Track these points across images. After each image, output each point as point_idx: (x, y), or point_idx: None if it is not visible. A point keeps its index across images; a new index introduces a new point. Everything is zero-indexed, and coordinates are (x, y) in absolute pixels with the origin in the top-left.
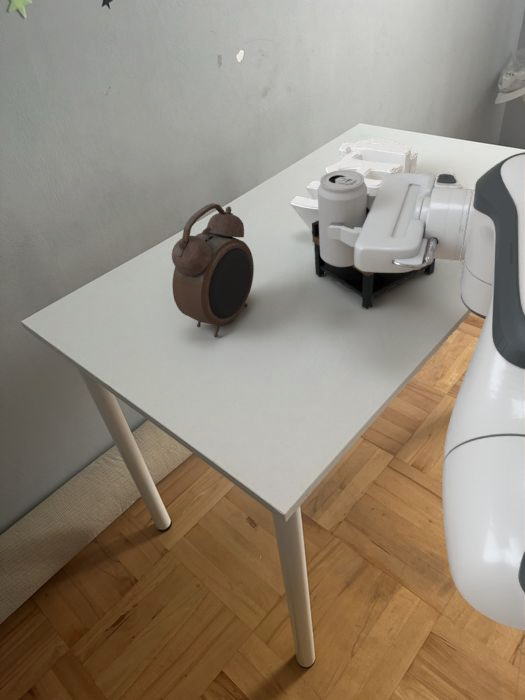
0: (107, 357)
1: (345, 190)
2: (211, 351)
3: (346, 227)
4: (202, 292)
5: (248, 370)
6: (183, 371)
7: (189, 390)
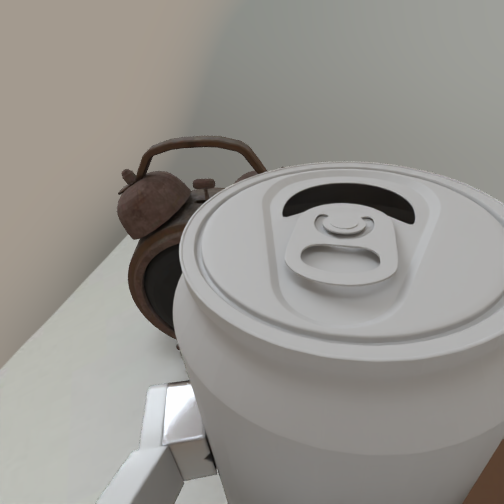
0: (121, 266)
1: (191, 293)
2: (147, 360)
3: (140, 483)
4: (131, 272)
5: (105, 440)
6: (99, 348)
7: (57, 376)
